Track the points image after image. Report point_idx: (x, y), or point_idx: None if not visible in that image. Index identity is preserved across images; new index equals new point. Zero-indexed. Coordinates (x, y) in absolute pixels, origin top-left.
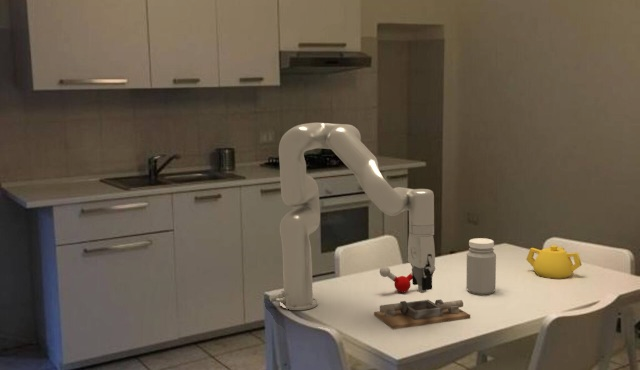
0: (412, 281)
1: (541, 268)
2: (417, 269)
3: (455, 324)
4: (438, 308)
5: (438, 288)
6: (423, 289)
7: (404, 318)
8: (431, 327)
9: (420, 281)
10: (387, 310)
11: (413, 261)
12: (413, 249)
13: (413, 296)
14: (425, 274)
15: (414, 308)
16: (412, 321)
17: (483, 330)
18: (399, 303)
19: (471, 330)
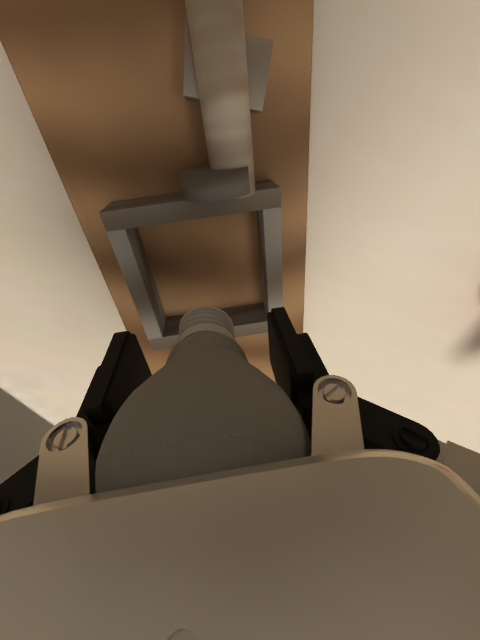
0: (288, 317)
1: None
2: (122, 459)
3: (96, 343)
4: (151, 335)
5: (450, 384)
6: (115, 338)
7: (141, 151)
8: (54, 254)
9: (164, 365)
10: (185, 26)
11: (192, 569)
12: None
13: (441, 301)
14: (45, 464)
15: (261, 251)
16: (85, 180)
17: (34, 396)
18: (227, 155)
19: (30, 369)
